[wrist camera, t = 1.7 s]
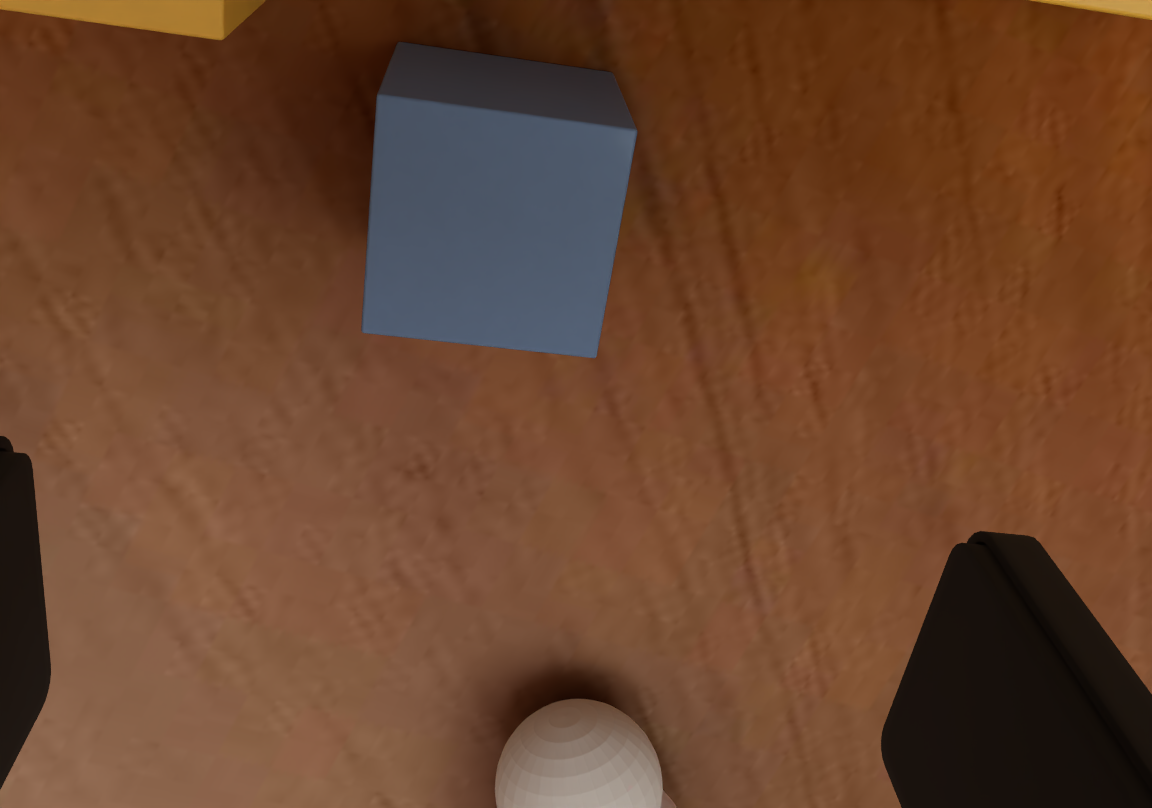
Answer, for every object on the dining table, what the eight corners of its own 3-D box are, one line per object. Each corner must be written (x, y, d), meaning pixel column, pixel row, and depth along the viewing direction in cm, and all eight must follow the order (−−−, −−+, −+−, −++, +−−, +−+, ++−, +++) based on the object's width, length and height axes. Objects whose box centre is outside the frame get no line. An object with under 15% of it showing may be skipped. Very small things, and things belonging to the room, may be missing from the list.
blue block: (382, 247, 24) (360, 333, 20) (397, 40, 22) (376, 93, 18) (580, 270, 25) (596, 358, 21) (613, 71, 23) (638, 129, 19)
